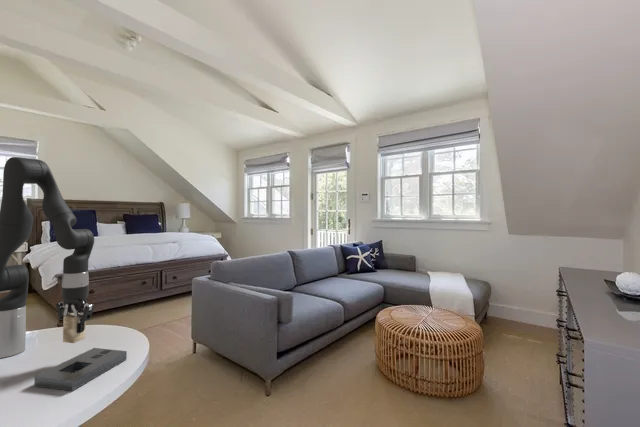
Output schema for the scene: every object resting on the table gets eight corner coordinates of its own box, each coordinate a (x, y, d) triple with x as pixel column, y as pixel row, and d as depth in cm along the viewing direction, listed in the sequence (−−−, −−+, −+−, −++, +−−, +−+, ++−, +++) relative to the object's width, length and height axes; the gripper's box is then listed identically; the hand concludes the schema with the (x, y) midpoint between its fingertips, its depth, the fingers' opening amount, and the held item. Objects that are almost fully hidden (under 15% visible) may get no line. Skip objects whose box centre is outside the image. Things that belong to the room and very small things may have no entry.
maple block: (62, 342, 106) (63, 316, 106) (75, 337, 110) (75, 312, 110) (73, 343, 105) (74, 317, 105) (85, 338, 109) (85, 313, 109)
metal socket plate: (34, 385, 92) (34, 375, 92) (94, 355, 112) (94, 347, 112) (72, 391, 90) (72, 380, 90) (126, 359, 109) (126, 350, 109)
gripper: (48, 285, 105) (46, 334, 105) (82, 288, 103) (81, 338, 103) (69, 280, 112) (68, 326, 113) (101, 283, 110) (100, 329, 110)
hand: (74, 331), depth 108 cm, fingers closed on maple block, 4 cm apart
